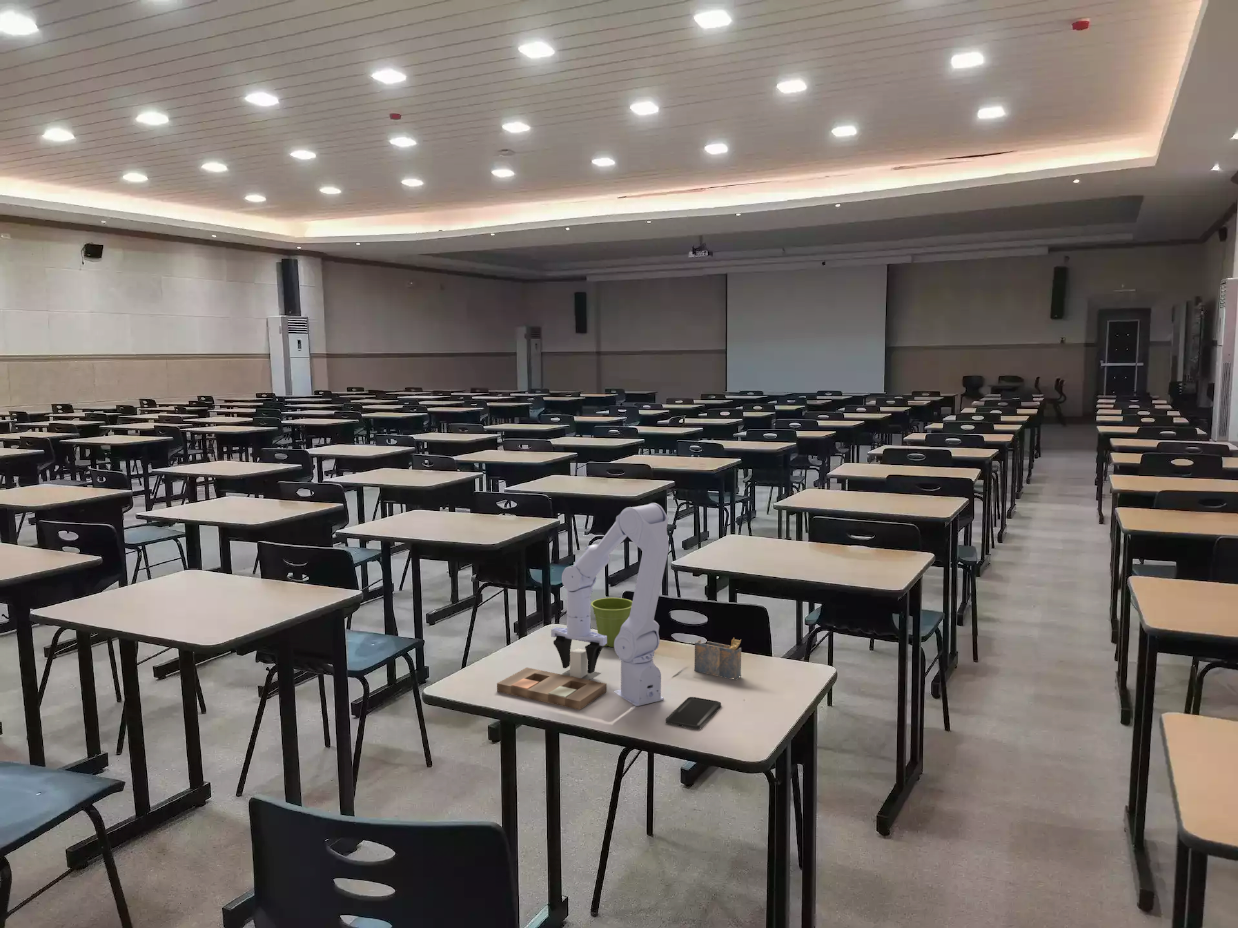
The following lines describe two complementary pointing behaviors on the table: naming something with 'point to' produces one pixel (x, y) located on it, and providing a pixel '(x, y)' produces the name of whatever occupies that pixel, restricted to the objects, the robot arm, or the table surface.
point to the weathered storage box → (718, 659)
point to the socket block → (552, 688)
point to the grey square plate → (587, 677)
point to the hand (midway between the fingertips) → (578, 669)
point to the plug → (578, 663)
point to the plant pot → (611, 616)
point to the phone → (693, 713)
